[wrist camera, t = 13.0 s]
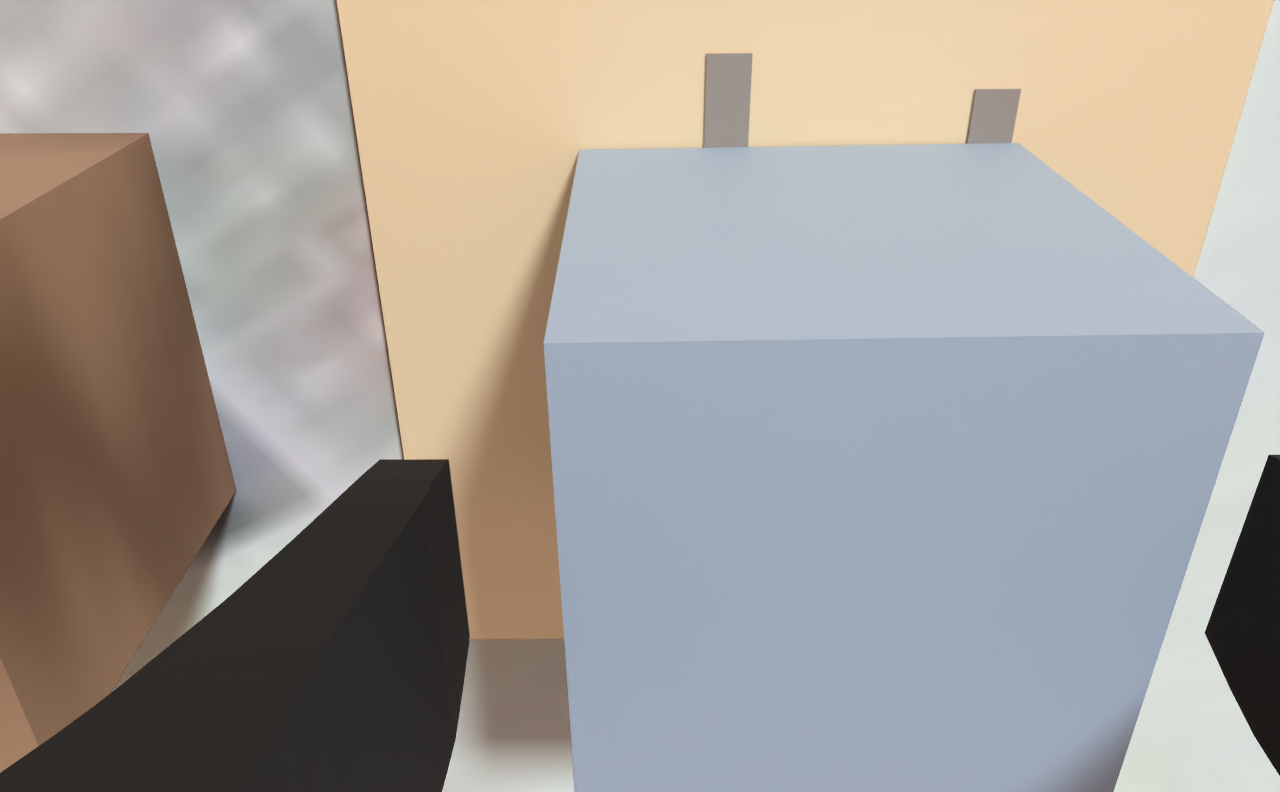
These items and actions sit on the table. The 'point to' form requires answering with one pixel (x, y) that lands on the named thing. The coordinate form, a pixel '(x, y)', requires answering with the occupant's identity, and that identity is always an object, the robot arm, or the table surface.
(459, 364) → the envelope
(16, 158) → the walnut block
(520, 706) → the table surface
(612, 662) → the cube
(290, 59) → the table surface
